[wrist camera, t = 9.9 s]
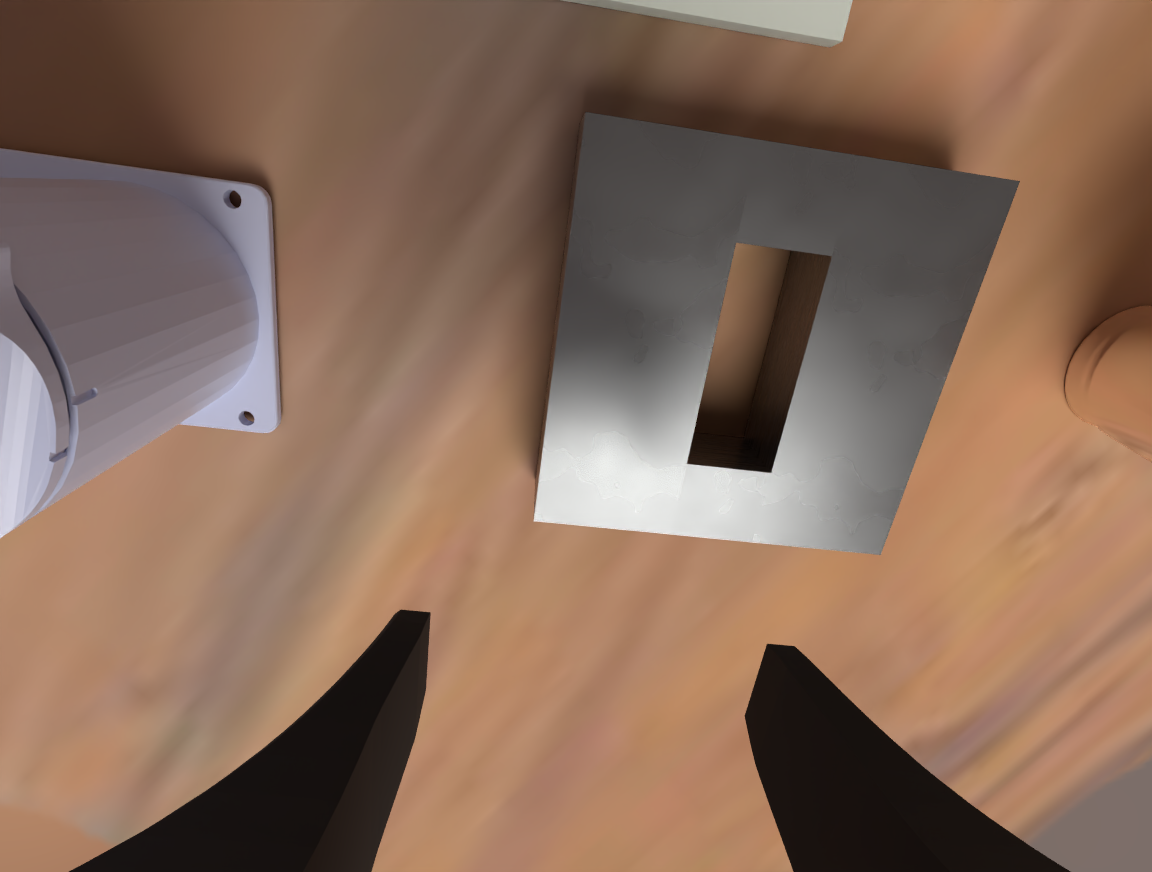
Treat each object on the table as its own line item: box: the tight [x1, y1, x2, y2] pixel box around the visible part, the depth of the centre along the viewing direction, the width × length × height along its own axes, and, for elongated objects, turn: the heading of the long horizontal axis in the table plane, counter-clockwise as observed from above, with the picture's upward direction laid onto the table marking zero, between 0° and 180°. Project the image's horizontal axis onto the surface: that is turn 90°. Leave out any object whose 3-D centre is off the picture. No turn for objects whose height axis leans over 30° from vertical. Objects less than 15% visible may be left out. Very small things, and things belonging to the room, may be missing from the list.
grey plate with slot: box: [534, 112, 1020, 555], centre depth 20 cm, size 12×12×3 cm
